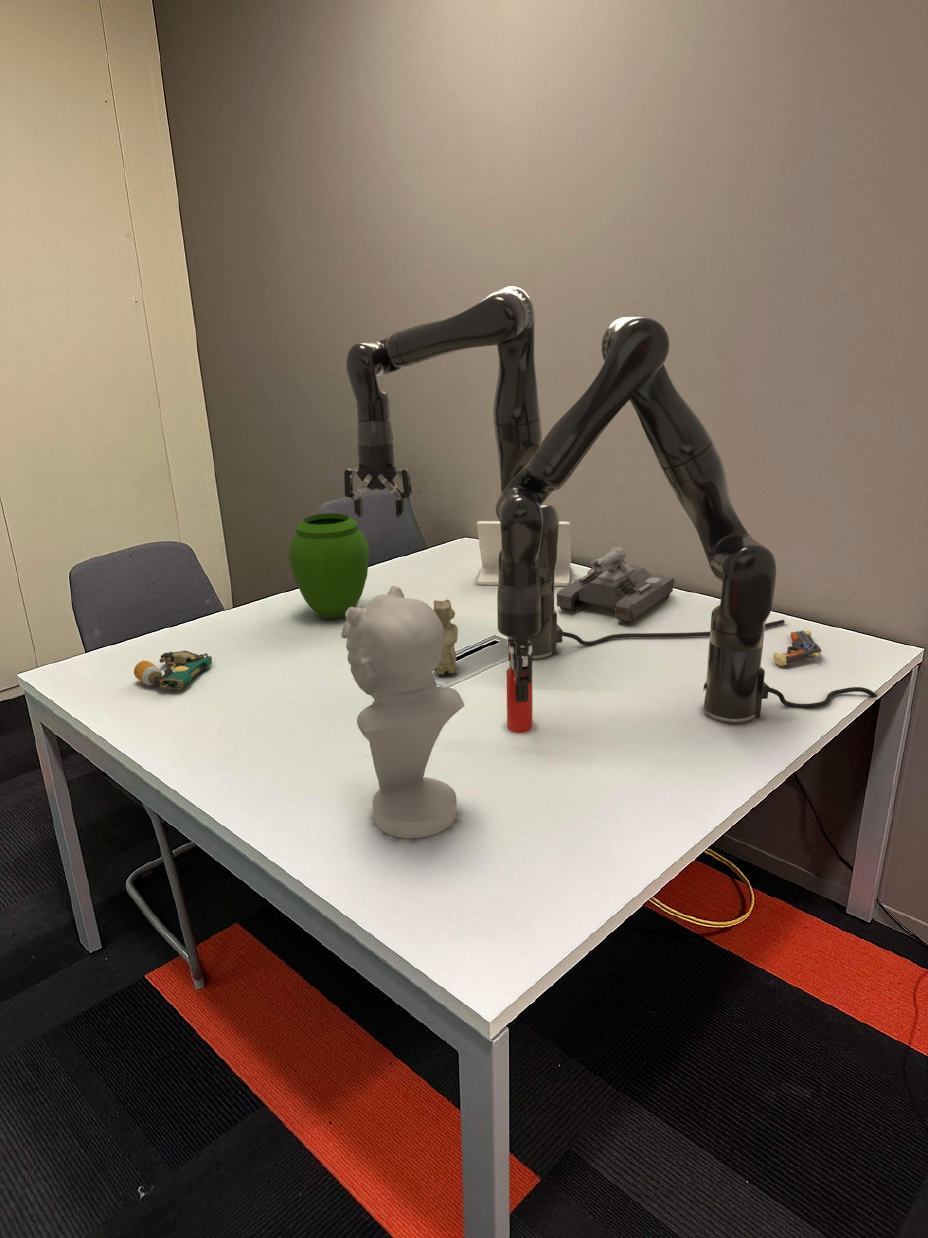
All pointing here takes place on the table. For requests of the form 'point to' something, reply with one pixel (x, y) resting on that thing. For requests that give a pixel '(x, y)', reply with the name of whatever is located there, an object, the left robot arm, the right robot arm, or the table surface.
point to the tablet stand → (492, 546)
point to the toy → (616, 588)
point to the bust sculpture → (402, 709)
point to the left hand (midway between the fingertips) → (379, 516)
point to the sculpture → (447, 636)
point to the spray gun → (172, 669)
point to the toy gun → (798, 649)
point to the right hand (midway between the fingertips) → (519, 694)
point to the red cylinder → (518, 706)
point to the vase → (329, 563)
